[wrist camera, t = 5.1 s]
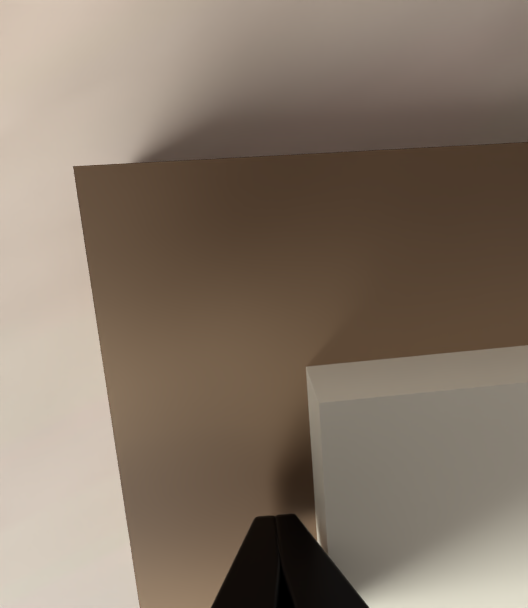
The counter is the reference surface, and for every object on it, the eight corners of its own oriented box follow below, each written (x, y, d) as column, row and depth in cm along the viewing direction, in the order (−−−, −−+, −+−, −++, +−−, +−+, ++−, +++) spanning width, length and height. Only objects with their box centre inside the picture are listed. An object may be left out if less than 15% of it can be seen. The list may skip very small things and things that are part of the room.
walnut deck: (565, 616, 14) (648, 726, 11) (181, 649, 14) (164, 772, 11) (629, 146, 11) (774, 128, 8) (121, 173, 10) (73, 166, 7)
